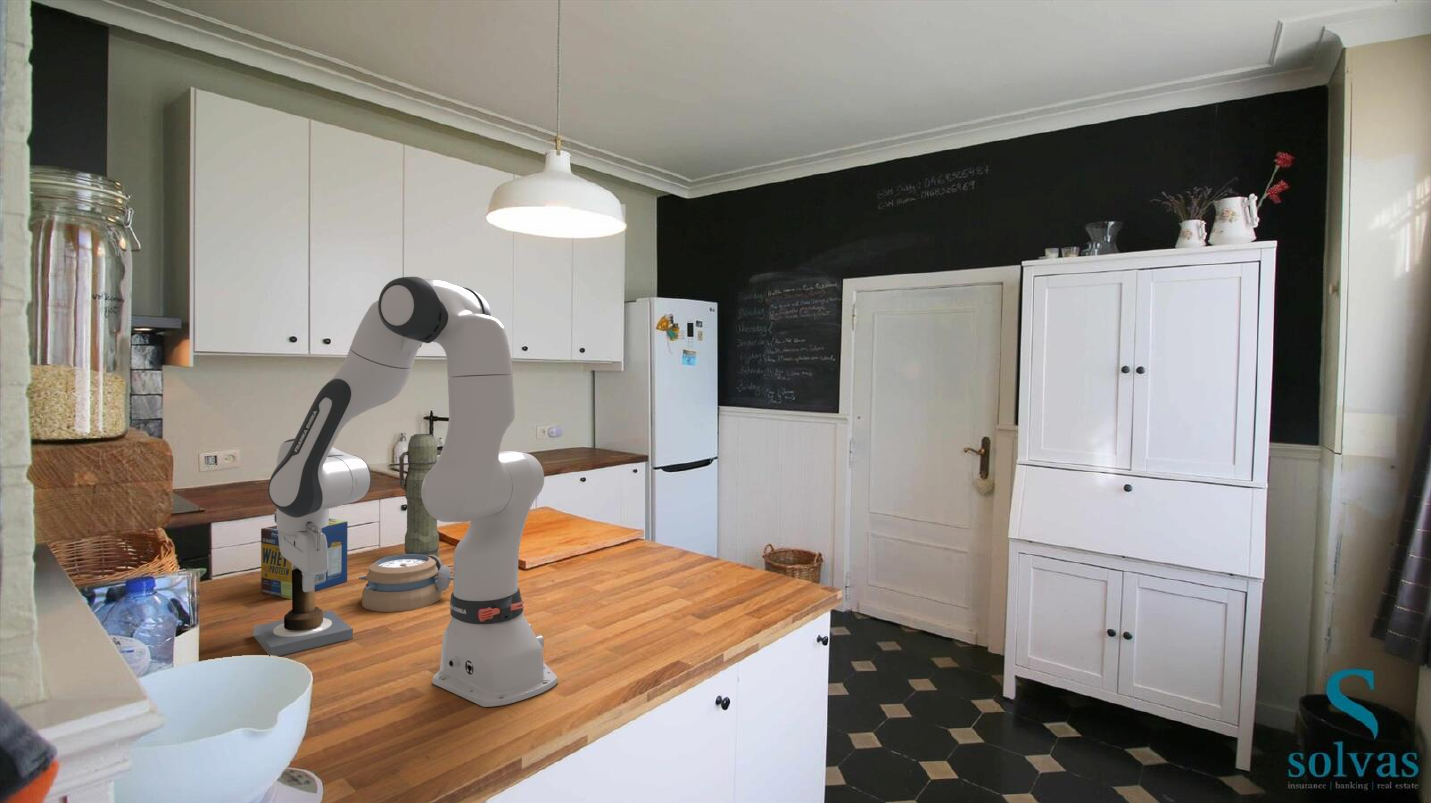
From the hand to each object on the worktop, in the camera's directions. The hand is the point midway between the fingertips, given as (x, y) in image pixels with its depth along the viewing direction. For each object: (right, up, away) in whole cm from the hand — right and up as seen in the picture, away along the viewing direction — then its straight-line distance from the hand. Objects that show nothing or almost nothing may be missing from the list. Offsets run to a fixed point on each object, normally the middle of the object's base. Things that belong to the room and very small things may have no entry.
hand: (303, 587), depth 137 cm
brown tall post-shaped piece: (0, -8, 0) cm, 8 cm away
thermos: (-1, -8, +58) cm, 59 cm away
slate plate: (0, -10, 0) cm, 10 cm away
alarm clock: (+11, -10, +26) cm, 30 cm away
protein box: (-18, -9, +31) cm, 37 cm away
